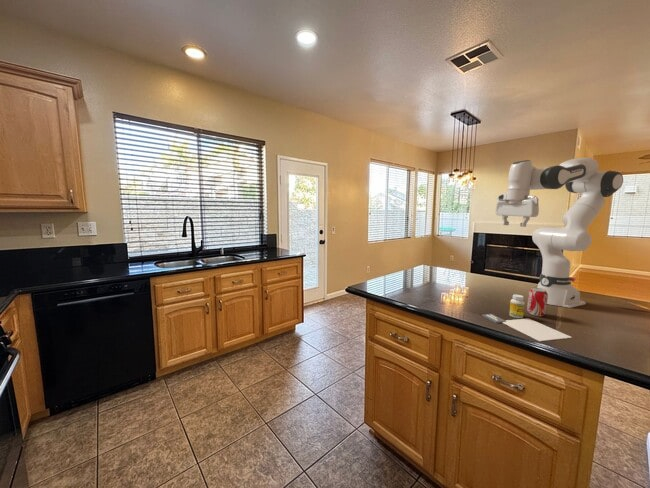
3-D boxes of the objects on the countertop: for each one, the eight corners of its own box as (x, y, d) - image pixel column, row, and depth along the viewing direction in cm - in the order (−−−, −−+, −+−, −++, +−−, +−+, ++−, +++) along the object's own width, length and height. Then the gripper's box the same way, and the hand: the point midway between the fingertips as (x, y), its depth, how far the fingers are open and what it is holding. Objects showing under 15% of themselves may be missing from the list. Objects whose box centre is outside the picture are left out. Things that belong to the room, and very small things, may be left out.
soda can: (540, 318, 125) (543, 292, 123) (523, 313, 131) (526, 288, 129) (548, 315, 128) (551, 290, 126) (531, 310, 134) (534, 286, 132)
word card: (491, 315, 128) (491, 313, 128) (505, 322, 120) (506, 320, 120) (481, 315, 127) (481, 314, 127) (495, 323, 119) (496, 321, 119)
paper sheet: (528, 319, 124) (528, 318, 124) (571, 337, 106) (571, 337, 106) (500, 321, 121) (500, 320, 120) (539, 341, 103) (539, 340, 103)
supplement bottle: (515, 313, 130) (517, 293, 129) (526, 317, 125) (528, 297, 124) (506, 314, 129) (508, 294, 128) (516, 318, 124) (518, 298, 122)
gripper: (544, 195, 120) (540, 227, 122) (505, 197, 140) (502, 224, 142) (532, 195, 119) (528, 227, 121) (494, 196, 139) (491, 224, 141)
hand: (514, 225), depth 132 cm, fingers open, 8 cm apart
